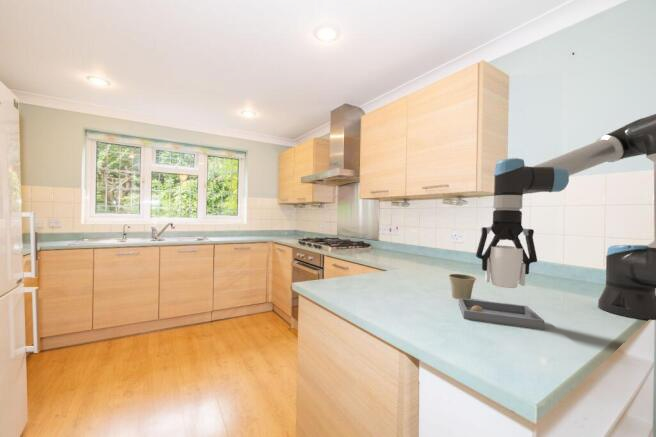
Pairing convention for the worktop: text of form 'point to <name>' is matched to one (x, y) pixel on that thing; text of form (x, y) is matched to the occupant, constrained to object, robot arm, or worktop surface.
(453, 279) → the flower pot
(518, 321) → the tray
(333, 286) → the worktop surface
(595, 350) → the worktop surface
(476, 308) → the ball
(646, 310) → the robot arm
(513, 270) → the cup
